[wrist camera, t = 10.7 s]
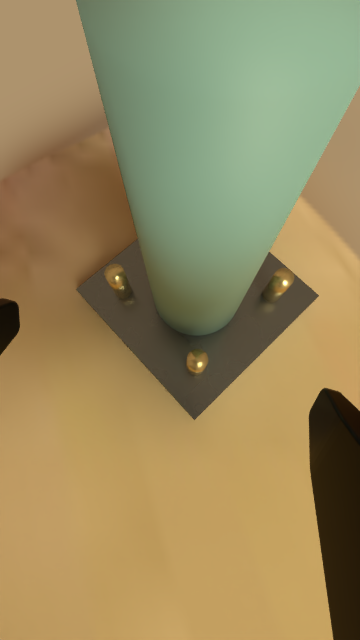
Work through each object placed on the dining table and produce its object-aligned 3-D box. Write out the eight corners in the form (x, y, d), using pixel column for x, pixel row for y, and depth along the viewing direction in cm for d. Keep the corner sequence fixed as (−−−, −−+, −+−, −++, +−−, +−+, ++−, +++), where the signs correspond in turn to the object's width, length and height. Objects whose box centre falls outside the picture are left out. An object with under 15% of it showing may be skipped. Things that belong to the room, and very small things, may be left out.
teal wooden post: (169, 347, 18) (128, 140, 4) (142, 269, 19) (43, -83, 5) (253, 318, 18) (464, 45, 4) (221, 244, 19) (311, -141, 6)
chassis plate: (193, 419, 17) (196, 421, 14) (81, 295, 19) (60, 271, 16) (312, 301, 19) (339, 278, 16) (197, 199, 21) (200, 159, 18)
